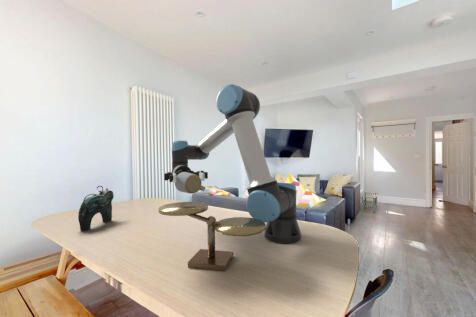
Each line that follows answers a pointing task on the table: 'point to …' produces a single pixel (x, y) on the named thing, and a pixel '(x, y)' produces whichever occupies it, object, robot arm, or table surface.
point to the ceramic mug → (188, 183)
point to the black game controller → (95, 208)
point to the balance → (213, 233)
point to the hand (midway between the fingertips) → (189, 177)
